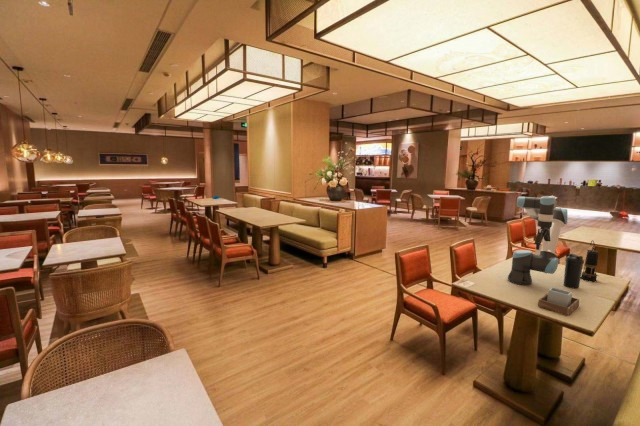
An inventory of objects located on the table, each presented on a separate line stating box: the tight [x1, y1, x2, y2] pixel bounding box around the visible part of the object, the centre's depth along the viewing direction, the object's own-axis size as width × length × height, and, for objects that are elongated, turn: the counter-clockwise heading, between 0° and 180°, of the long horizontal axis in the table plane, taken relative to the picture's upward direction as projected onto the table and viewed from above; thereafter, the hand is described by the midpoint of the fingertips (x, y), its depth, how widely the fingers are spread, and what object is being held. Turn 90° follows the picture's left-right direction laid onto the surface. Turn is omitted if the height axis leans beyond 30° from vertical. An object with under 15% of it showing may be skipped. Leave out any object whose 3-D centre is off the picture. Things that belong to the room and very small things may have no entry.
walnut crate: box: [537, 292, 580, 317], centre depth 190 cm, size 20×15×4 cm
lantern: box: [580, 240, 600, 283], centre depth 231 cm, size 9×9×30 cm
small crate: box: [547, 286, 573, 308], centre depth 190 cm, size 7×10×9 cm
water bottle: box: [563, 253, 585, 289], centre depth 219 cm, size 10×10×23 cm
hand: (541, 252), depth 203 cm, fingers open, 13 cm apart
